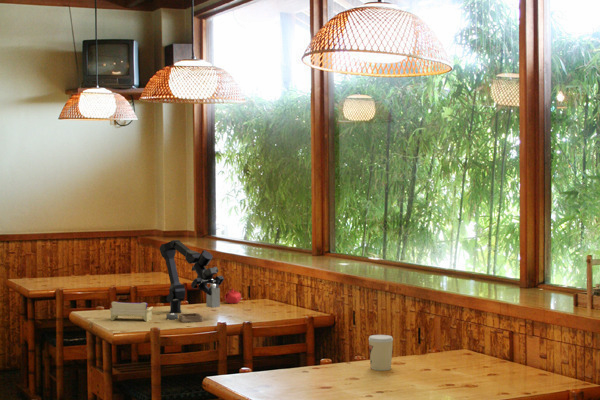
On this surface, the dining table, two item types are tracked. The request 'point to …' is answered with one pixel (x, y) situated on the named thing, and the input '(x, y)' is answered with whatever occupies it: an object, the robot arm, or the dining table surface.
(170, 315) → the rubber wheel
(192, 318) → the chassis bay
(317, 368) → the dining table surface
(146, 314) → the toy sofa
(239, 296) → the pomegranate
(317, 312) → the dining table surface
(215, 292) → the grey square bottle
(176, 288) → the robot arm
